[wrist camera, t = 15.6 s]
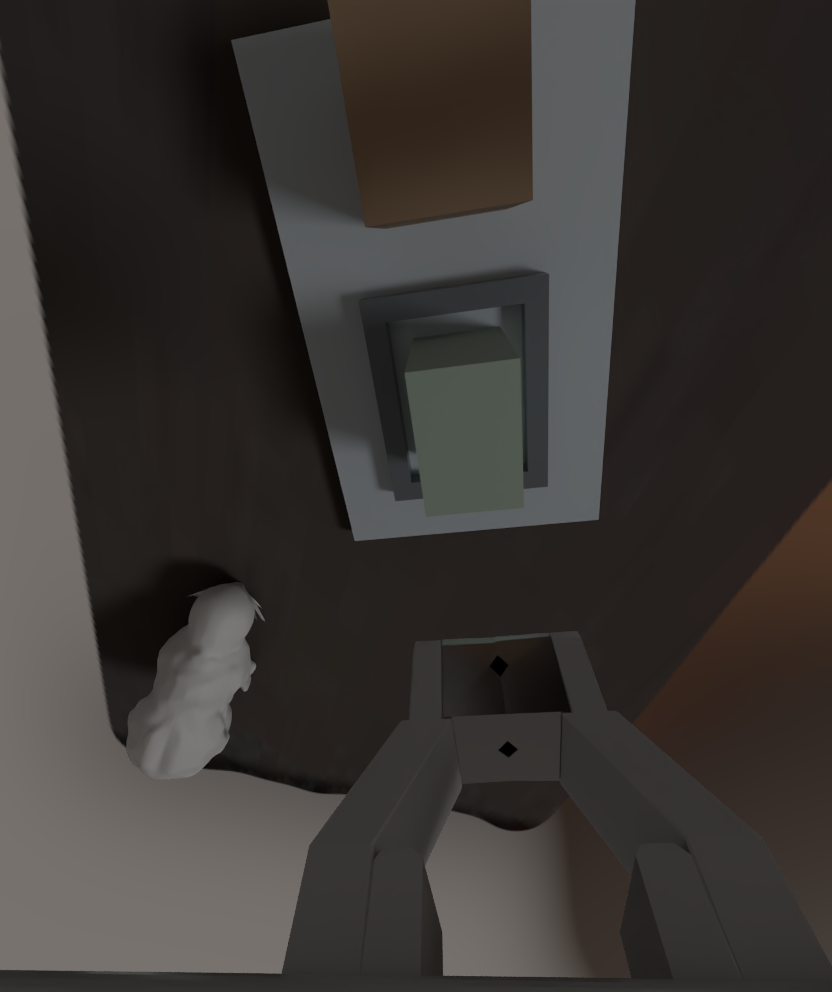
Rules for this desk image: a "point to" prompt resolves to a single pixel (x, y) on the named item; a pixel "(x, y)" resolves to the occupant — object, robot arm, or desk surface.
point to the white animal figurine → (195, 686)
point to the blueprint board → (450, 224)
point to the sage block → (467, 421)
